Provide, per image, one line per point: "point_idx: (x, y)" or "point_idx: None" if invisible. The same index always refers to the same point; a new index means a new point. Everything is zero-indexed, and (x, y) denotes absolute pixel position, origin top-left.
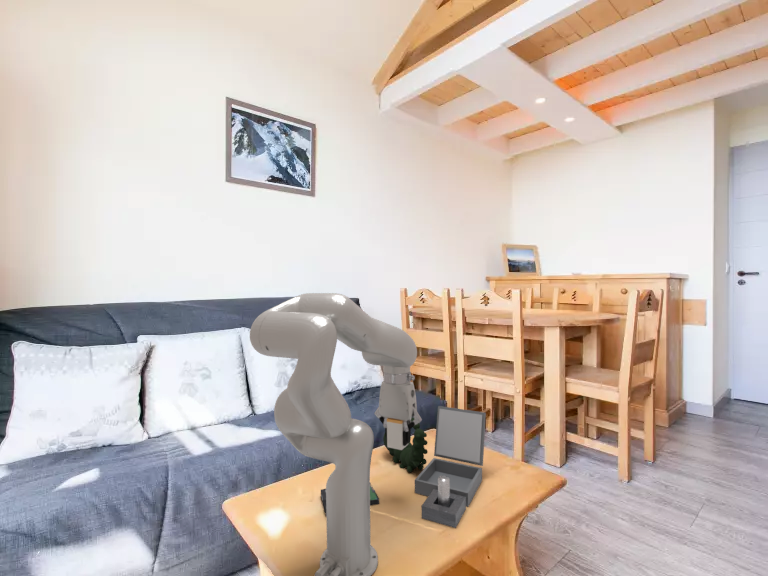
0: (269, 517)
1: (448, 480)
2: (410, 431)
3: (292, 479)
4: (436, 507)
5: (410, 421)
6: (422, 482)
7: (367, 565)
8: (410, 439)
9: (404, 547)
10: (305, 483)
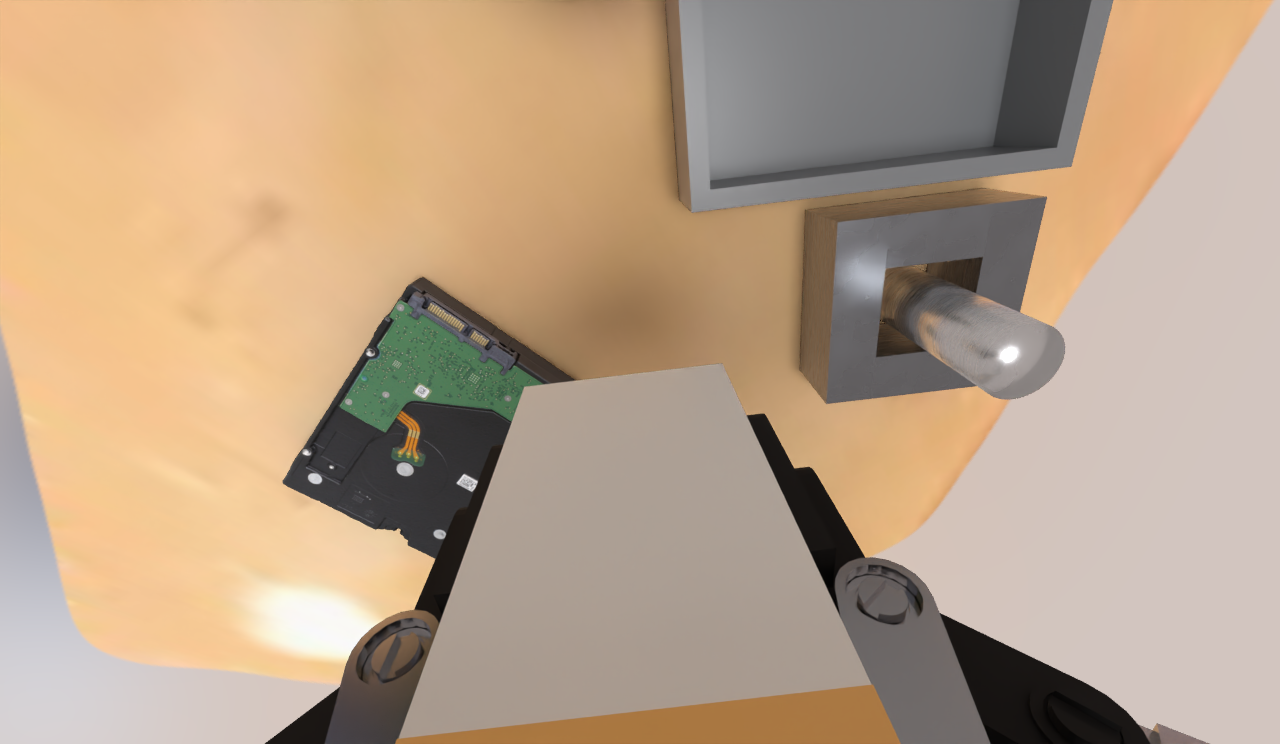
0: (298, 628)
1: (1058, 366)
2: (861, 554)
3: (34, 434)
4: (901, 378)
5: (970, 731)
6: (750, 204)
7: None
8: (811, 471)
9: None
10: (125, 425)
